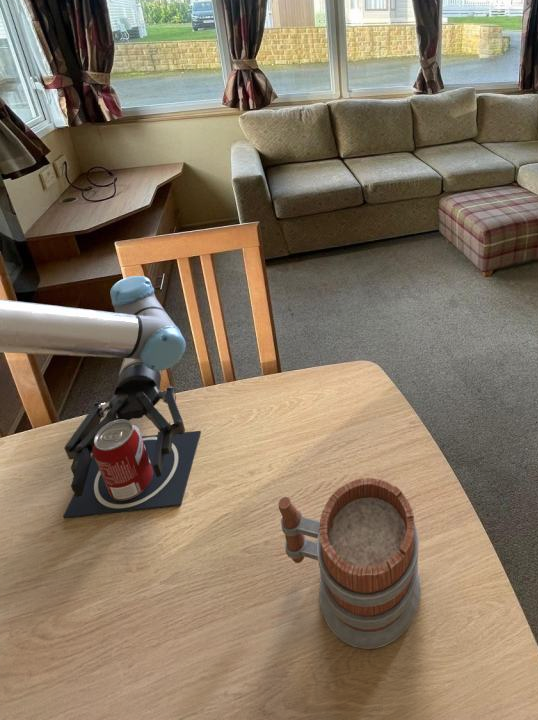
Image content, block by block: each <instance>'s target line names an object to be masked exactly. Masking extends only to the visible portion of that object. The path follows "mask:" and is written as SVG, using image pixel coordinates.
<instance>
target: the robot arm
mask: <svg viewBox="0 0 538 720" xmlns="http://www.w3.org/2000/svg"><path fill="white" fill-rule="evenodd" d="M109 293H110V299H111V305H112V306H113V309H114V312H113V311H105V310H96V309H86V308H78V307H70V306H62V305H61V306H60V305H53V304H46V303H45V304H44V303H36V302H28V301H26V302H25V301H18V300H12V299H11V300H9V299H2V298H1V299H0V353H4V354H5V353H6V354H25V355H26V354H27V355H46V356H47V355H49V356H72V357H89V358H90V357H93V358H95V357H96V358H113V359H116V358H117V359H122V363H121V366H120V370H119V373H118V378H117V381H116V385H115V388H114V394H113V397H112V398H111V399H110V400H109V401H108V402H104V403H100V401H99V400H96V401H94V402H93V403H92V404H91V406H90V410H89V413H88V414H87V415H86V417H85V418H84V419H83V420H82V422H81V423H80V425H79V426H78V428H77V429H76V430H75V432H74V433H73V434H72V435H71V437H70V438H69V440H68V442H67V443H66V444H65V445H64V447H63V448H64V451H65V453H66V455H67V458H68V460H73V461H72V463H71V466H70V471H71V473H72V475H73V478H72V480H71V484H70V487H71V490H72V491H73V495H74V494H75V496H76V497H79V496H82V493H83V489H84V486H85V482H86V479H87V475H88V471H89V468H90V464H91V461H92V454H93V446H94V439H95V436H96V434H97V433H98V431H99V430H100V429H101V428H102V427H104V426H105V425H107V424H108V423H110V422H113V421H115V420H121V419H124V420H128V421H131V420H134V419H142V418H143V417H144V416H145V417H146V418H147V419H148V421H150V422H151V423H152V424H153V425H154V426H155V427H156V429H157V430H158V432H157V435H158V436H157V442H156V449H155V455H154V462H153V468H154V471H155V474H156V477H159V476H162V470H163V463H164V455H165V454H169V453H170V452H171V447H172V440H173V437H174V436H175V435H176V434H183V433H184V432H186V428H185V424H184V421H183V418H182V416H181V415H182V414H181V412H180V410H179V408H178V405H177V402H176V400H177V395H176V391H175V388H174V385H169V386H167V388H166V390H162V391H160V388H161V383H162V374H163V371H165V370H168V369H171V368H172V367H173V366H176V364H178V363H179V361H180V360H181V359H182V358H183V355H184V354H185V351H186V348H187V347H186V345H187V344H186V340H185V337H184V336H183V334H182V332H181V330H180V328H179V327H178V326H177V325H176V324H175V323H174V321H173V320H172V319H171V317H170V316H169V315H168V313H167V311H166V310H165V309H164V307H163V306H162V304H161V302H159V300H158V299H157V297H156V294H155V288H154V287H153V285H152V281H151V280H150V279H149V277H147V276H145V275H131V276H127V277H125V278H122V279H120V280H119V281H117V282H116V283H114V284H113V285H112V287H111V288H110V292H109ZM161 400H162V402H163V403H165V404H166V405H167V407H168V410H169V413H170V415H171V418H172V421H173V423H172V424H171V422H170V421H168V420H167V419H166V418H165V417H164V416H163V415H162V413H161V412H160V411H159V410H158V409H157V408H156V407H155V406H156V405H157V404H158V403H159V402H160V401H161Z"/></svg>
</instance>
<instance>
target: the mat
mask: <svg viewBox="0 0 538 720" xmlns="http://www.w3.org/2000/svg"><path fill="white" fill-rule="evenodd" d="M201 433H202V431H201V430H194V431H185V432H184V433H183V434H176V435H175V436H174V437H173V440H172V447H171V452H170V453H169V454H165V455H164V463H163V470H162V476H159V477H156V474H155V471H154V468H153V462H154V455H155V449H156V442H157V436H158V434H151V435H141V436H142V439H143V442H144V445H145V448H146V451H147V454H148V457H149V460H150V463H151V466H152V469H153V477H152V480H151V482H150V484H149V485H148V487H147V488H146V489H145V490H144V491H143V492H142V493H140V494H139V495H137V496H136V497H134V498H131V499H128V500H115V499H113V498H112V497H111V496H110V494H109V492H108V489H107V487H106V484H105V482H104V480H103V477H102V475H101V472H100V470H99V467H98V465H97V463H96V460H95V458H94V455H93V454H92V455H91V458H92V461H91V464H90V468H89V471H88V475H87V479H86V482H85V486H84V489H83V493H82V496H79V497H76V496H75V494H74V493H73V494H72V497H71V499H70V502H69V503H68V506H67V508H66V510H65V511H64V514H63V515H62V519H64V520H65V519H72V518H81V517H82V518H83V517H90V516H99V515H101V516H102V515H108V514H119V513H127V512H128V513H129V512H135V511H146V510H153V509H155V510H156V509H163V508H172V507H181V506H182V503H183V499H184V496H185V492H186V488H187V484H188V480H189V477H190V475H191V471H192V467H193V462H194V460H195V455H196V453H197V452H196V451H197V448H198V444H199V440H200V438H201Z"/></svg>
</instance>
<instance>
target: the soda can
mask: <svg viewBox="0 0 538 720" xmlns="http://www.w3.org/2000/svg"><path fill="white" fill-rule="evenodd" d="M142 436H143V435H142V434H141V431H140V429H139V428H138V426H137V425H135V424H133V422H132V421H131V420H129V421H128V420H124V419H121V420H115V421H113V422H110V423H108V424H107V425H105V426H104V427H102V428H101V429H100V430H99V431H98V433H97V434H96V436H95V439H94V446H93V452H92V456H93V455H94V458H95V460H96V463H97V465H98V467H99V470H100V472H101V475H102V477H103V480H104V482H105V484H106V487H107V489H108V492H109V494H110V496H111V497H112V498H113V499H115V500H128V499H131V498H134V497H136V496H137V495H139V494H140V493H142V492H143V491H144V490H145V489H146V488H147V487H148V485H149V484H150V482H151V480H152V477H153V469H152V466H151V463H150V460H149V457H148V454H147V451H146V448H145V445H144V442H143V439H142Z"/></svg>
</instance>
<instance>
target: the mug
mask: <svg viewBox="0 0 538 720" xmlns="http://www.w3.org/2000/svg"><path fill="white" fill-rule="evenodd" d="M277 506H278V510H279V511H280V515H281V519H280V525H281V530H282V533H283V534H284V537H285V538H284V539H285V542H284V550H285V554H286V555H287V557H288V558H290V559H291V560H292V561H293V562H294V563H295V564H300V563H302V562H303V561H304V559H305V558H308V559H311V560H315V561H318V567H319V575H320V577H319V578H320V580H319V588H318V589H319V590H318V591H319V592H318V595H319V606H320V608H321V612H322V616H323V618H324V620H325V622H326V624H327V626H328V627H329V629H330V630H331V631H332V633H334V635H335V636H337V637H338V638H339V639H340V640H341V641H342V642H344V643H346V644H348V645H350V646H352V647H354V648H360V649H364V650H367V649H378V648H381V647H384V646H388V645H389V644H391V643H392V642H394V641H396V640H398V638H400V636H402V635H403V634H404V633H405V632H406V631H407V629H408V628H409V626H410V625H411V624H412V622H413V620H414V618H415V615H416V614H417V612H418V608H419V604H420V600H421V589H422V588H421V577H420V574H419V564H418V559H419V558H418V557H419V533H418V529H417V525H416V522H415V516H414V512H413V508H412V506H411V504H410V502H409V500H408V498H407V497H406V495H404V494H403V491H402V490H401V489H400V488H399V487H398V486H396V485H393V484H391V483H389V482H387V481H385V480H382V479H378V478H374V477H363V478H358V479H356V480H352V481H350V482H347V483H346V484H344V485H342V486H341V487H338V488H337V489H336V490H335V491H334V492H333V493H332V494H331V495H330V497H329V498H328V500H327V501H326V503H325V506H324V507H323V508H322V509H323V510H322V512H321V516H320V519H319V520H316V519H312V518H309V517H306V516H303V513H302V512H301V510H299V509H297V508H296V505H295V503H294V504H293V502H291V499H290V498H289V497H288V496H283V497H281V498H280V499H279V501H278V505H277ZM306 537H310V538H314V539H317V541H314V540H312V539H307V538H306Z"/></svg>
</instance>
